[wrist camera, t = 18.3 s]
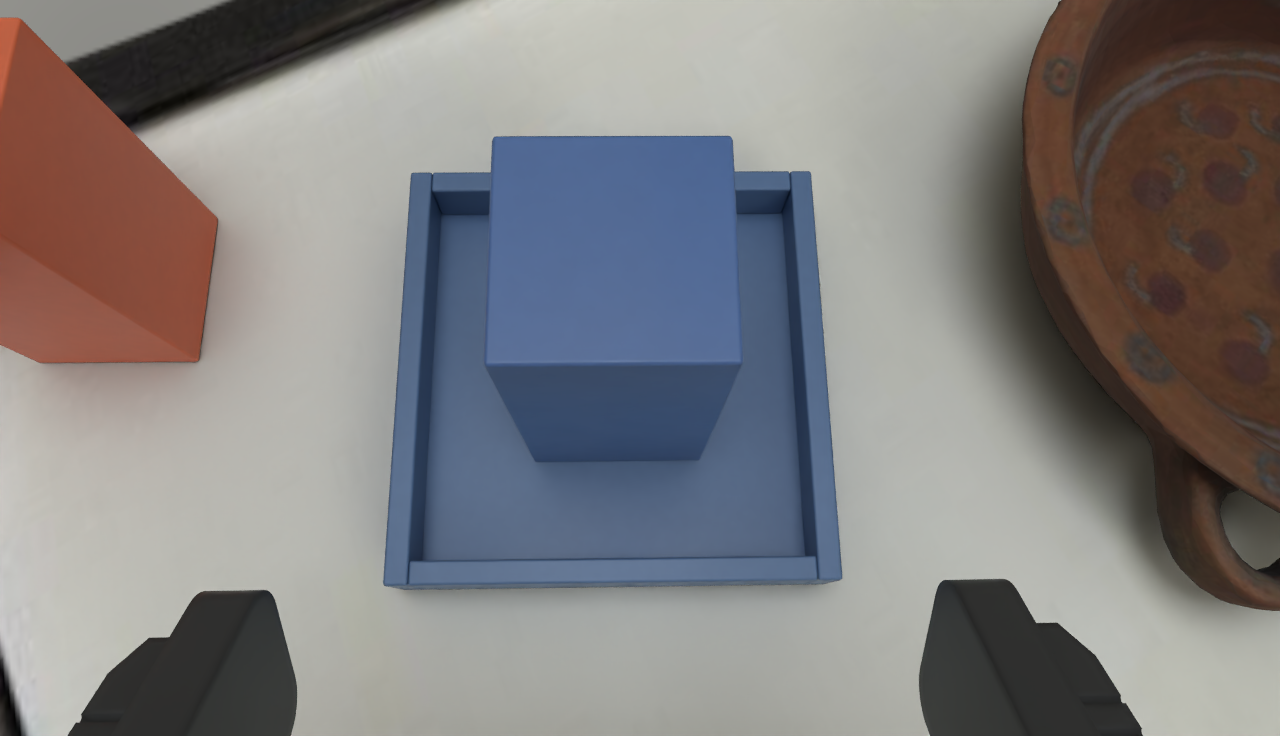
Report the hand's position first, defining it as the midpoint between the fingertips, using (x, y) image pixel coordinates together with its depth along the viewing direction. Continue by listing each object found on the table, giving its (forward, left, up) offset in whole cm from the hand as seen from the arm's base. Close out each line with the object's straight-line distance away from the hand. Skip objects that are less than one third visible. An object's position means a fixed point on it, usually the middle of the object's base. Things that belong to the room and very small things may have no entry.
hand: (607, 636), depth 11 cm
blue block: (0, +7, -12) cm, 14 cm away
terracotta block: (-14, +10, -13) cm, 21 cm away
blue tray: (0, +7, -13) cm, 14 cm away
